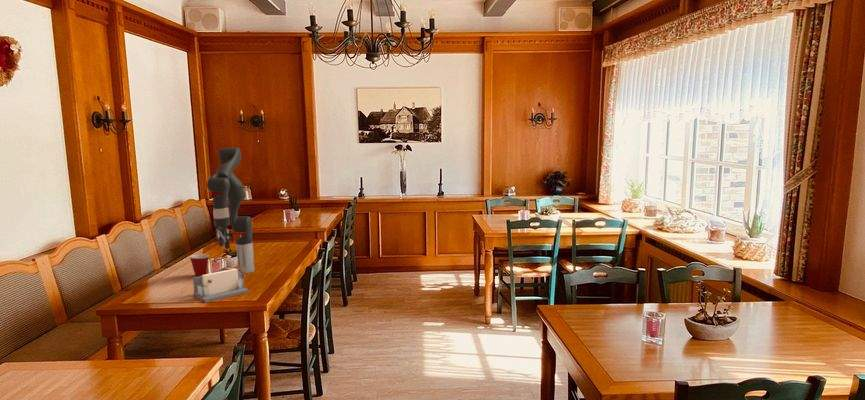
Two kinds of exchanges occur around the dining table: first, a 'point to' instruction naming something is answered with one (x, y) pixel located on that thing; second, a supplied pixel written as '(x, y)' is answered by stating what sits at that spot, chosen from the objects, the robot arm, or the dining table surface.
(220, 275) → the door
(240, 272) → the tin
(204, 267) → the plastic cup
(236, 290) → the hinge bracket
